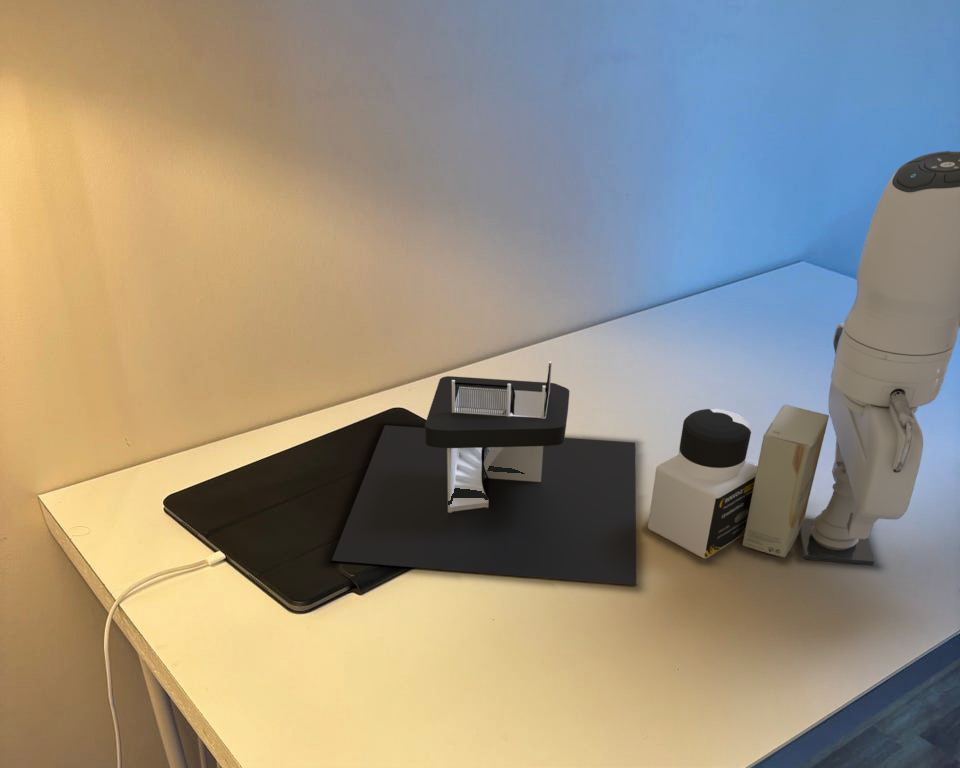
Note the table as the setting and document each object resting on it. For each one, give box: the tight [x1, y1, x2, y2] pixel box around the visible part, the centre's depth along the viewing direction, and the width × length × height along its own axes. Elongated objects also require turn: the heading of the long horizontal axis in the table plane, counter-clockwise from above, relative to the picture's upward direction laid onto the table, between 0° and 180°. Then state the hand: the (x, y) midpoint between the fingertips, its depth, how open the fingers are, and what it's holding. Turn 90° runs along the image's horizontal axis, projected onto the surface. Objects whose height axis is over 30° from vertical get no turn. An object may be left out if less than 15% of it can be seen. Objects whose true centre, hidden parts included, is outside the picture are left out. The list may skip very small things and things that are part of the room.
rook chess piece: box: [811, 461, 859, 550], centre depth 92 cm, size 4×4×8 cm
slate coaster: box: [798, 518, 876, 566], centre depth 94 cm, size 6×6×1 cm
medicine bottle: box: [647, 408, 758, 559], centre depth 92 cm, size 7×7×12 cm
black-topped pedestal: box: [331, 361, 637, 586], centre depth 96 cm, size 28×26×13 cm
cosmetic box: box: [741, 404, 830, 558], centre depth 91 cm, size 6×4×12 cm
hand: (848, 506), depth 92 cm, fingers open, 8 cm apart
